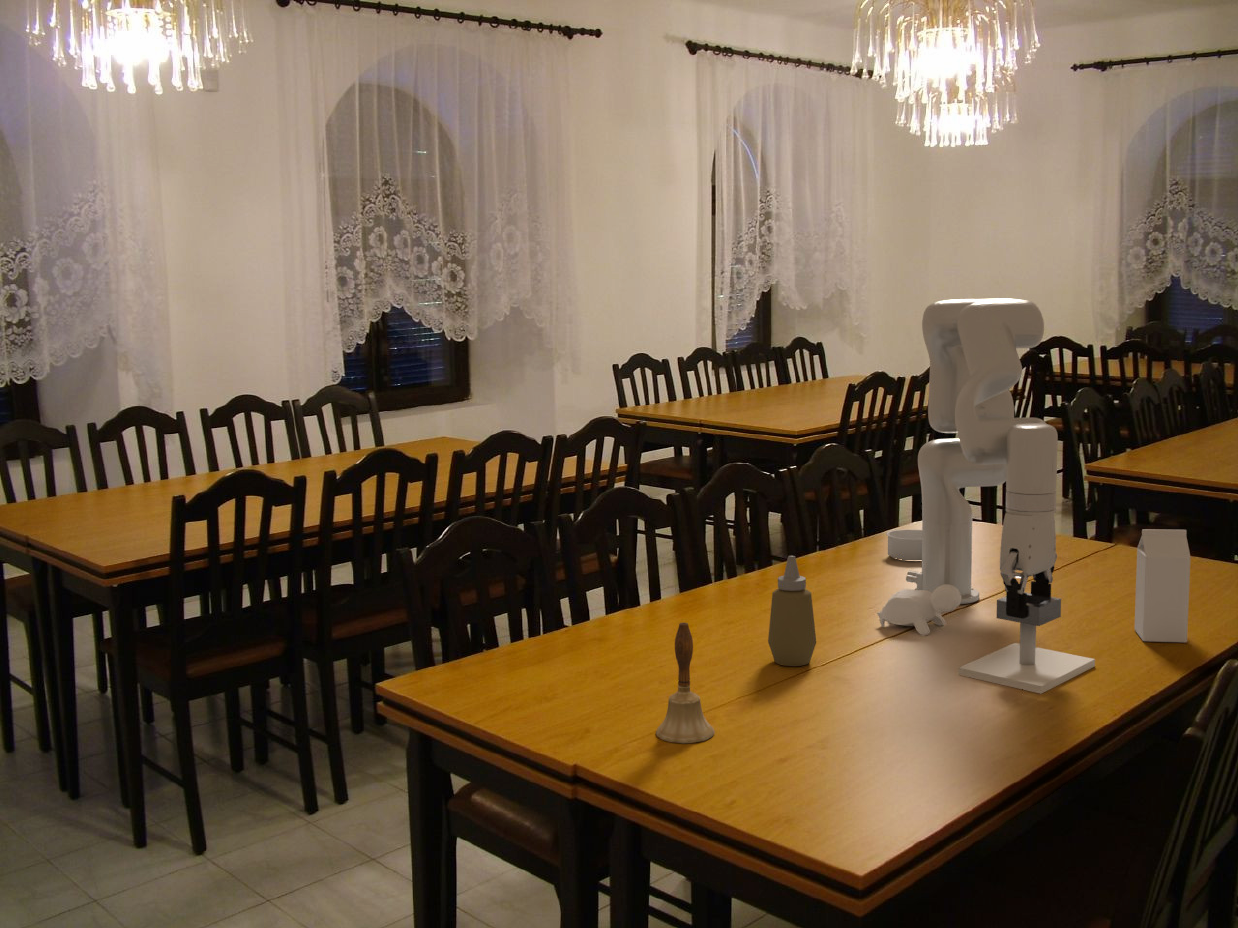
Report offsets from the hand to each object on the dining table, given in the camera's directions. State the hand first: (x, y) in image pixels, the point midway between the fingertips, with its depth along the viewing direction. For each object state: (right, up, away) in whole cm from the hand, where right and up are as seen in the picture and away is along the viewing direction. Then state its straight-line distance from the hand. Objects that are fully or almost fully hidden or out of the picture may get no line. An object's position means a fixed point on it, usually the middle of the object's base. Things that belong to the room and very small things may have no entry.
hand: (1028, 610), depth 197 cm
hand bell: (-56, -15, -22) cm, 62 cm away
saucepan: (+4, +1, +80) cm, 80 cm away
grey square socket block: (0, -1, 0) cm, 1 cm away
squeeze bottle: (-36, -10, +9) cm, 39 cm away
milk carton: (+29, -7, +18) cm, 34 cm away
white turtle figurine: (-11, -7, +27) cm, 30 cm away
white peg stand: (0, -10, +1) cm, 10 cm away
